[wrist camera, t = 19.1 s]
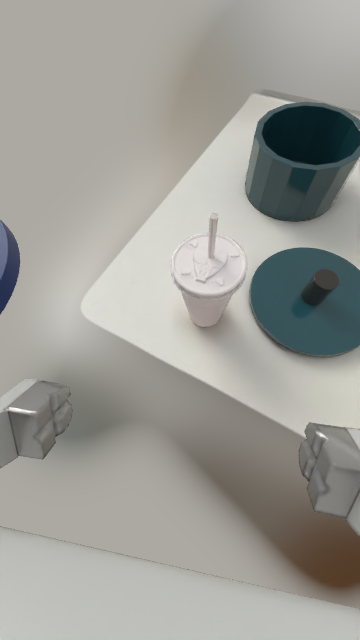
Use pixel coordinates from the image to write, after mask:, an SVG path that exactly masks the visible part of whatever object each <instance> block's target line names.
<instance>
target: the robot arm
mask: <svg viewBox="0 0 360 640" xmlns="http://www.w3.org/2000/svg"><path fill="white" fill-rule="evenodd" d="M70 395H71V394H70V388H69V386H67V385H64V384H58V383H53V382H47V381H40V380H35V379H24V380H22V381H21V382H20V383H19V384H17V385H16V386H15V387H14V388H12V389H11V390H10V391H8V392H7V393H6V394H5V395H4V396H2V397H1V398H0V468H2V467H3V466H5V465H7V464H8V463H10V462H11V461H13V460H14V459H16V458H17V457H18V456H24V457H30V458H37V459H44V457H45V456H46V455H47V453H48V452H49V451H50V450H51V448H52V447H53V446H54V444H55V443H56V442H55V437H56V436H57V435H59V434H61V433H63V432H64V431H65V429H66V428H67V427H68V425H69V422H70V420H71V417H72V405H71V404H70V402H69V401H68V400H67V399H68V397H69V396H70ZM305 434H306V437H307V439H306V440H304V441H303V442H302V443H301V445H300V449H299V464H300V469H301V472H302V475H303V476H304V477H305V478H306V479H307V480H308V481H309V484H308V486H307V491H308V494H309V497H310V500H311V503H312V506H313V509H314V512H318V513H323V514H327V515H332V516H336V517H341V518H346V521H347V522H348V523H349V524H350V526H351V527H352V528H353V529H354V530H355V532H356V533H357V534H358V535H359V536H360V429H355V428H347V427H337V426H331V425H324V424H317V423H310V422H309V423H308V425H307V426H306V429H305ZM0 640H360V609H357V608H353V607H348V606H344V605H340V604H336V603H330V602H326V601H322V600H318V599H314V598H309V597H305V596H301V595H296V594H292V593H287V592H283V591H279V590H275V589H270V588H266V587H262V586H257V585H252V584H248V583H244V582H240V581H235V580H231V579H227V578H222V577H218V576H214V575H209V574H205V573H201V572H196V571H191V570H188V569H183V568H179V567H174V566H170V565H166V564H162V563H157V562H153V561H149V560H144V559H140V558H136V557H131V556H127V555H123V554H118V553H113V552H110V551H105V550H101V549H96V548H92V547H88V546H84V545H79V544H75V543H70V542H66V541H62V540H57V539H53V538H48V537H44V536H40V535H36V534H31V533H27V532H23V531H18V530H13V529H9V528H5V527H1V526H0Z"/></svg>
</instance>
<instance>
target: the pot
mask: <svg viewBox="0 0 360 640" xmlns="http://www.w3.org/2000/svg"><path fill="white" fill-rule="evenodd" d="M359 160H360V120H359V119H358V118H356V117H355V116H353V115H352V114H350V113H348V112H347V111H345V110H343V109H340V108H337V107H334V106H331V105H328V104H324V103H312V102H300V103H293V104H286V105H283V106H280V107H278V108H276V109H273V110H271V111H269V112H268V113H267V114H265V115H264V116H263V117H262V118H261V119H260V120H259V121H258V124H257V128H256V131H255V135H254V141H253V146H252V151H251V156H250V161H249V166H248V172H247V177H246V182H245V190H246V195H247V197H248V199H249V201H250V202H251V203H252V205H253V206H254V207H255V208H257V209H258V210H259V211H261V212H262V213H264V214H266V215H268V216H270V217H273V218H276V219H280V220H285V221H304V220H309V219H313V218H315V217H318V216H320V215H321V214H323V213H325V212H326V211H327V210H328V209H329V208H330V207H331V206H332V204H333V202H334V201H335V200H336V199H337V197H338V195H339V194H340V192H341V190H342V189H343V187H344V185H345V184H346V182H347V180H348V179H349V177H350V175H351V174H352V172H353V170H354V168H355V167H356V165H357V163H358V162H359Z"/></svg>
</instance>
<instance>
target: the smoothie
mask: <svg viewBox="0 0 360 640" xmlns="http://www.w3.org/2000/svg"><path fill="white" fill-rule="evenodd" d="M217 222H218V215H217V214H216V213H212V214H211V215H210V221H209V233H202V234H197V235H194V236H192V237H189V238H187V239H186V240H184V241H183V242H182V243H181V244H179V246H178V247H177V248H176V249H175V251H174V253H173V255H172V258H171V276H172V279H173V282H174V284H175V285H176V286H177V288H178V289H179V290H180V291H181V293H182V296H183V299H184V301H185V304H186V307H187V310H188V312H189V315H190V318H191V320H192V321H193V322H194V323H195V324H196V325H198V326H201V327H210V326H213V325H214V324H216V323H217V322H218V321H219V319H220V317H221V315H222V314H223V312H224V310H225V308H226V306H227V304H228V302H229V300H230V299H231V297H232V295H233V294H234V293H235V292H236V291H237V290H238V289H239V288H240V287H241V285H242V284H243V282H244V280H245V276H246V270H247V258H246V255H245V253H244V251H243V249H242V248H241V247H240V246H239V244H238V243H236V242H235V241H234V240H232V239H231V238H229V237H227V236H224V235H221V234H216V232H217Z"/></svg>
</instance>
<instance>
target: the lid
mask: <svg viewBox="0 0 360 640" xmlns="http://www.w3.org/2000/svg"><path fill="white" fill-rule="evenodd" d="M249 299H250V305H251V308H252V312H253V314H254V316H255V318H256V320H257V322H258V323H259V325H260V326H261V327H262V329H263V330H264V331H265V332H266V333H267V334H268V335H269V336H270V337H271V338H272V339H274V340H275V341H276V342H278V343H279V344H281V345H283V346H284V347H286V348H288V349H290V350H293V351H295V352H298V353H301V354H305V355H310V356H319V357H326V356H335V355H340V354H343V353H346V352H348V351H350V350H352V349H354V348H356V347H358V346H359V345H360V270H359V269H357V268H356V267H355V266H354V265H353V264H351V263H350V262H348V261H347V260H345V259H344V258H342V257H340V256H338V255H336V254H333V253H331V252H328V251H325V250H320V249H315V248H292V249H287V250H284V251H281V252H278V253H276V254H274V255H272V256H271V257H269V258H268V259H266V260H265V261H264V262H263V263H262V264H261V265H260V266H259V267H258V269H257V270H256V272H255V274H254V276H253V278H252V281H251V285H250V291H249Z"/></svg>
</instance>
